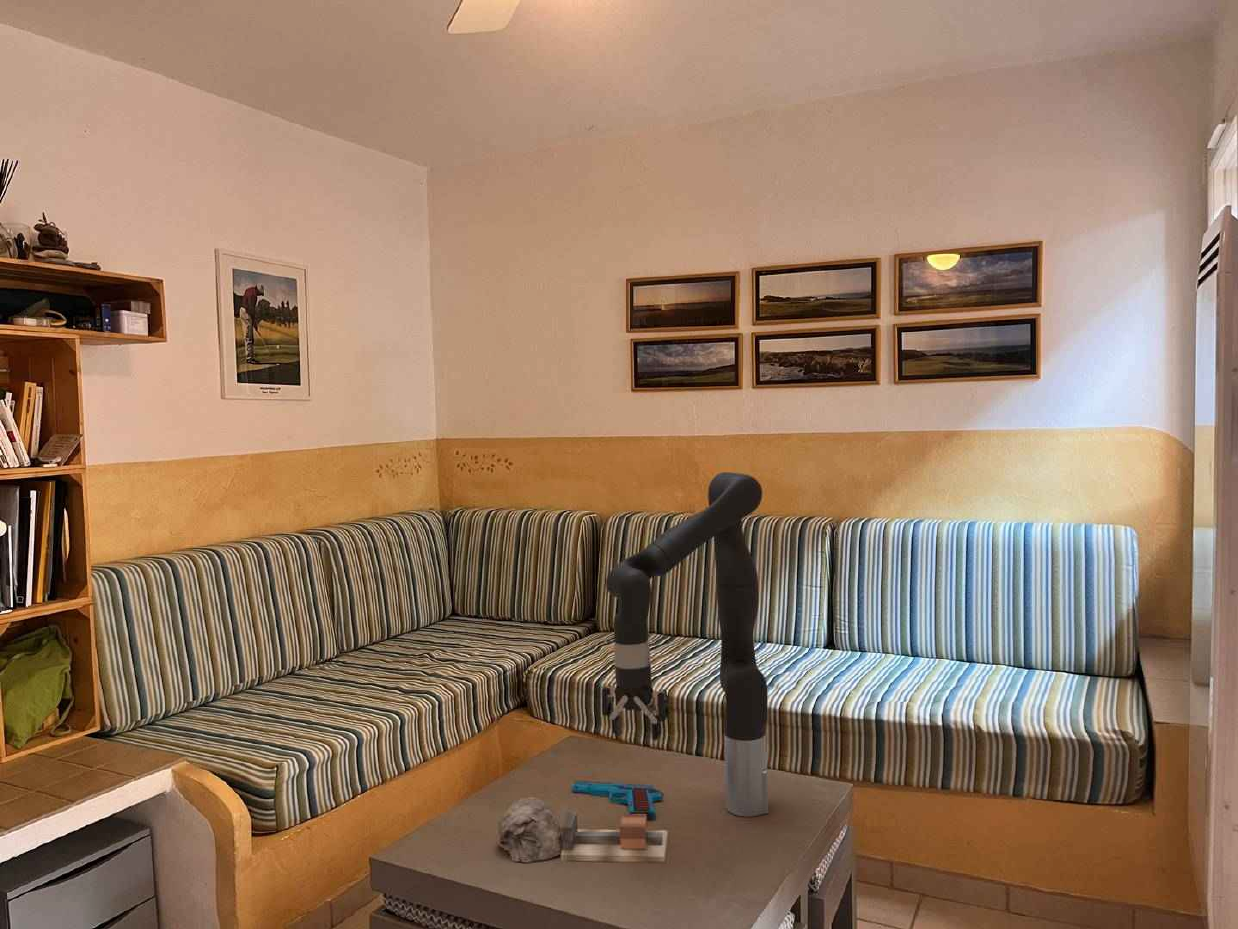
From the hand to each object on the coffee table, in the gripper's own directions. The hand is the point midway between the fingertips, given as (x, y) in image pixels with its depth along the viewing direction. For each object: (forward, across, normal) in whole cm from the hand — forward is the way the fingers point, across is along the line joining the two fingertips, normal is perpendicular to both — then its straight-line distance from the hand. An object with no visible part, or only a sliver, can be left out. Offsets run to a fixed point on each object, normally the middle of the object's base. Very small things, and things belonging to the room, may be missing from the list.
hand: (636, 737), depth 197 cm
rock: (+22, +20, +12) cm, 32 cm away
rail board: (+22, +4, +6) cm, 23 cm away
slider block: (+20, 0, +5) cm, 21 cm away
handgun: (+22, +12, -13) cm, 29 cm away
